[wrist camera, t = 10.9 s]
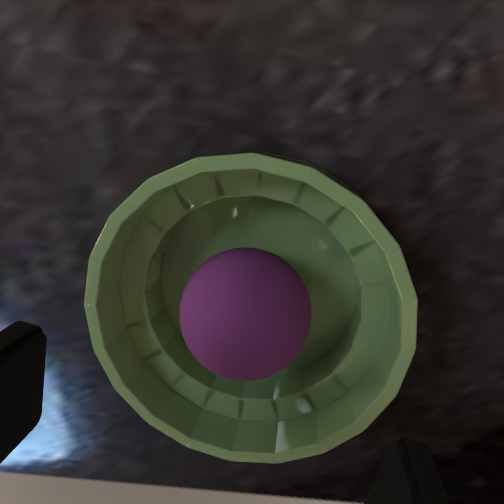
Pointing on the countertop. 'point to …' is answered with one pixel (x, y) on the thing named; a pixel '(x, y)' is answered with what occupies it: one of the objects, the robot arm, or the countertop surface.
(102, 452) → the countertop surface
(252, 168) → the bowl
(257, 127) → the countertop surface
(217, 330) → the ball
